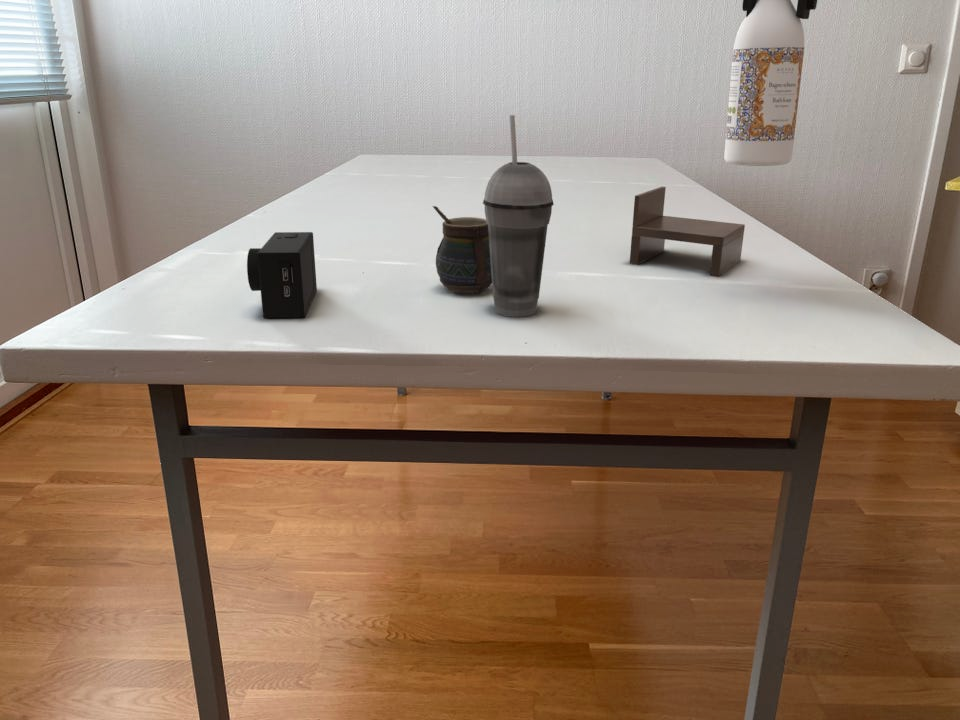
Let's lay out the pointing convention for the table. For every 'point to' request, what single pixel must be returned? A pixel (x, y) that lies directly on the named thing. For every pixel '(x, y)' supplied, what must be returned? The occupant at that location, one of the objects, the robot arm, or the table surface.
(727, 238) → the chair
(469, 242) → the mate gourd
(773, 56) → the bath foam
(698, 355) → the table surface
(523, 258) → the beverage cup
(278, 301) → the digital camera
